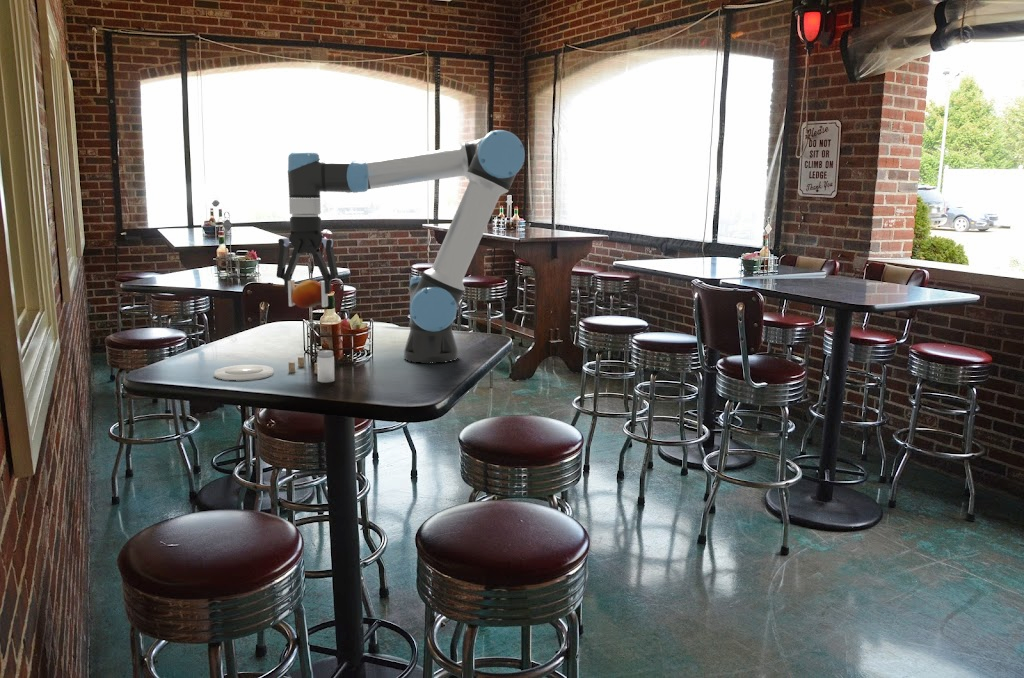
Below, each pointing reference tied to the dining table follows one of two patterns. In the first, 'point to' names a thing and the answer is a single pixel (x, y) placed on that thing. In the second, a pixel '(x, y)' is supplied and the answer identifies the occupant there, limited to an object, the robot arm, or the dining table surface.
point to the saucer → (243, 372)
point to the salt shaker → (325, 366)
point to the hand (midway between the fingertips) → (308, 306)
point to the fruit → (307, 294)
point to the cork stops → (299, 365)
